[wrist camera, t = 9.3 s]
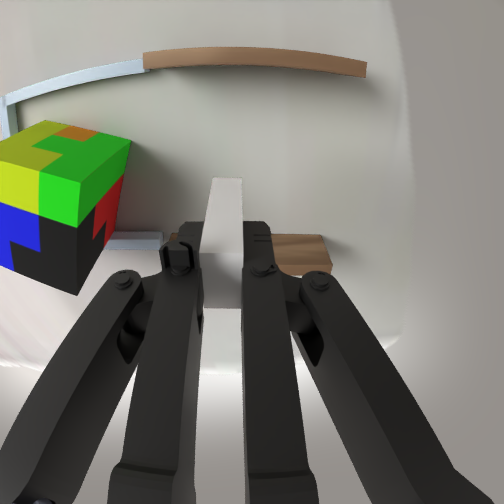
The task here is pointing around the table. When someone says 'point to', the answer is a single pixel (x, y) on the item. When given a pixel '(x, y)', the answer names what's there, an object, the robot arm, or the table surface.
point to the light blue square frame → (5, 105)
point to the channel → (284, 245)
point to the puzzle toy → (58, 201)
